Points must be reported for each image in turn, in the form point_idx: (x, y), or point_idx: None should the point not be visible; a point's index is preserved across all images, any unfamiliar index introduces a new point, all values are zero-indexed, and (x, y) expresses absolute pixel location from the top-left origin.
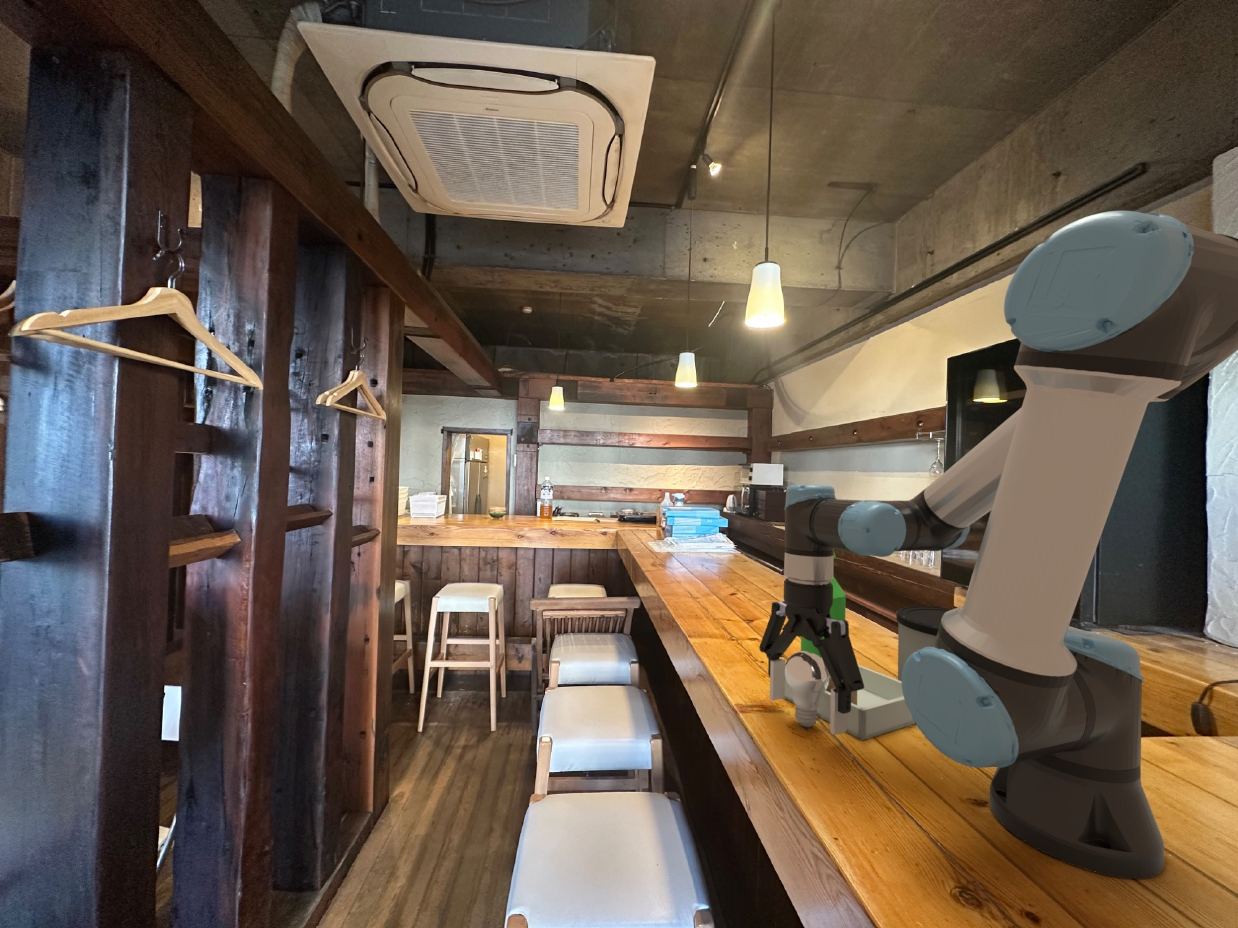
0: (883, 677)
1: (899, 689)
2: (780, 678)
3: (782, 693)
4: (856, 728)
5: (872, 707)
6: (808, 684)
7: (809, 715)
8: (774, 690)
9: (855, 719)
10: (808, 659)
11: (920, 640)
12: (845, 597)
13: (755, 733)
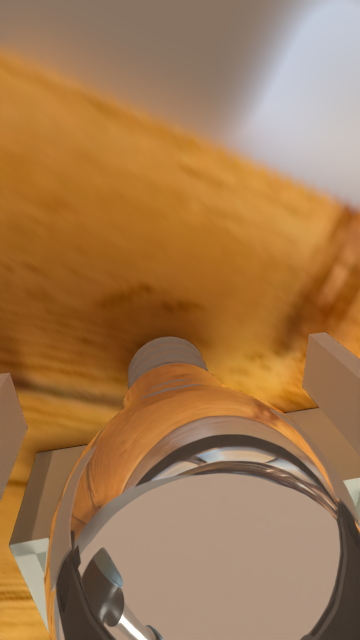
0: None
1: None
2: (354, 421)
3: (312, 387)
4: (53, 470)
5: (28, 579)
6: (77, 473)
7: (132, 376)
8: (330, 360)
9: (52, 494)
10: None
11: None
12: None
13: (191, 134)
